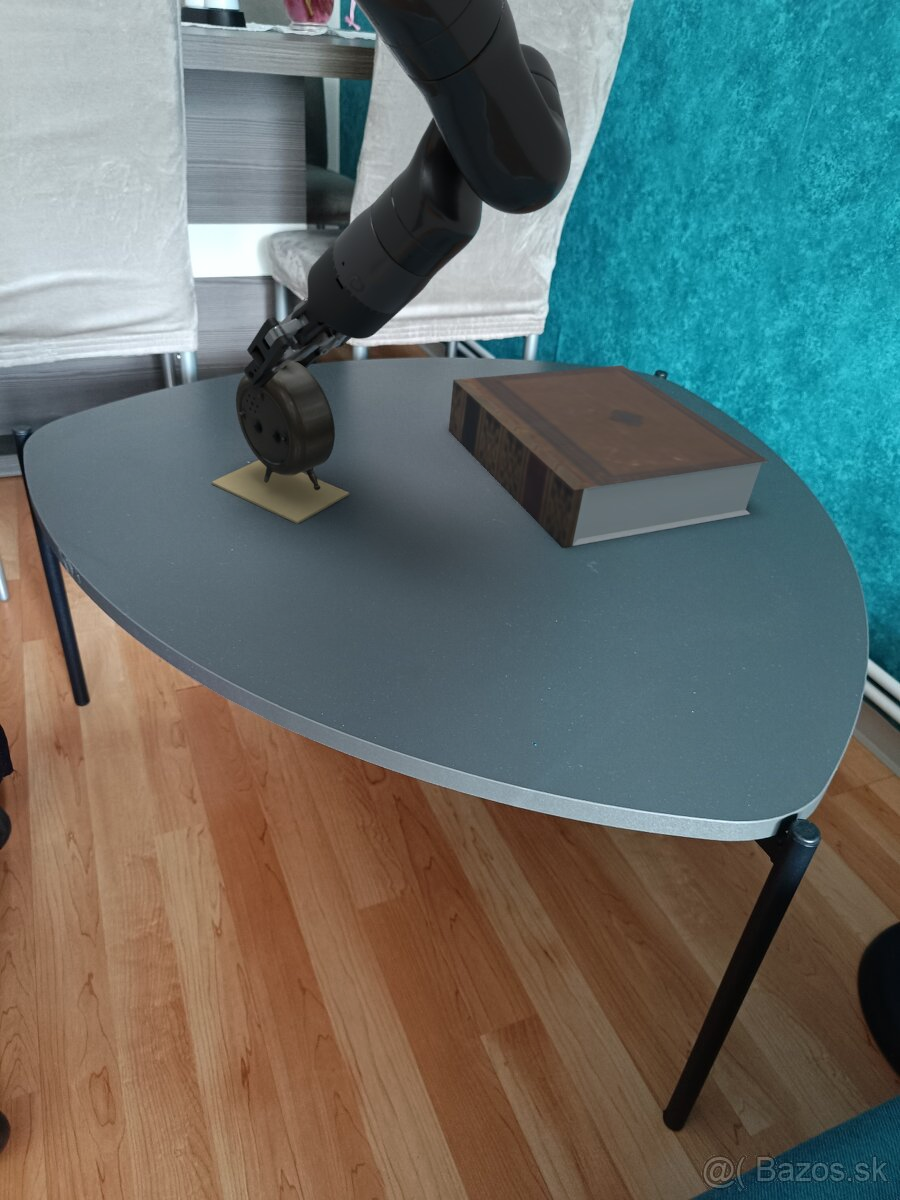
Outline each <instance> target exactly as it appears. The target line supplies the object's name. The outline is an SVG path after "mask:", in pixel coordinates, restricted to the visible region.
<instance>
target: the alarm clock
mask: <svg viewBox="0 0 900 1200" xmlns="http://www.w3.org/2000/svg"><path fill="white" fill-rule="evenodd" d="M277 321H278V323H280V322H281V321H280V320H277ZM283 356H285V353H284V354H283ZM283 356H282V357H283ZM282 357H281V358H282ZM281 358H280V359H281ZM235 408H236V414H237V420H238V424H239V427H240V430H241V432H242V434H243V437H244V439H245V441H246V444H247V445H248V446H249V448H250V450H251V451H252V453H253V454H254V455H255V457H256V458H257V459H258V460H260V461H261V462H262V463H263V464H264V465H265V466H266V467H267V469H266V474H265V477H264V482H265V483H267V482H268V481H269V478H270V476H271V473H272V472H275V473H278V474H280V475H284V476H292V475H296V474H298V473H301V472H302V473H304V472H306V474H307V475H308V476H309V478H310V480H311V481H312V483H313V484H314V489H315V490H319V489H320V486H319V485H318V481H317V479H318V476H317V475H316V472H315V471H314V468H315V467H318V466H321V465H323V464H324V463H325V462H327V461H328V459H330V457H331V455H332V453H333V449H334V446H335V445H334V444H335V437H336V431H335V429H336V428H335V421H334V420H335V419H334V415H333V413H332V408H331V406H330V402H329V400H328V397H327V396H326V394H325V392H324V389H323V388H322V386H321V384H320V383H319V381H318V380H317V379H316V377H315V375H314V374H312V373H311V372H310V370H308V369H307V368H305V367H304V366H302V365H301V364H299V363H298V362H296V361H291V362H289V363H288V364H287V365H286V366H284V367H283V368H282V370H280V371H279V372H278V373H277V374H276V375H275V376H274V377H273V378H272V379H270V380H269V381H268V382H267V383H266V384H265V385H264V386H263V387H261V388H258V389H255V388H254V387H253V386H252V384H251V382H250V381H249V379H248V378H247V376H246V374H245V373H244V374H243V375H242V377H241V378H240V379H239V382H238V385H237V388H236V395H235Z"/></svg>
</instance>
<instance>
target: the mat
mask: <svg viewBox="0 0 900 1200" xmlns="http://www.w3.org/2000/svg"><path fill="white" fill-rule="evenodd" d="M266 469H267V467H266V466H265V465H264V464H263V463H262V462H261V461H260V460H259V459H258V460H256V461H254V462H251V463H249V464H247V465H244V466H243V467H240V468H238V469H237V470H234V471H232V472H230V473H227V474H225V475H223V476H221V477H219V478H216V479H215V480H212V481H211V485H213V486H214V487H217V488H219V489H221V490H224V491H226V492H227V493H230V494H232V495H234V496H236V497H238V498H241V499H243V500H245V501H247V502H249V503H251V504H254V505H255V506H258V507H260V508H262V509H264V510H266V511H269V512H271V513H272V514H275V515H277V516H279V517H282V518H284V519H286V520H287V521H289V522H292V523H295V524H297V525H298V524H301V523H302V522H303V521H306V520H307V519H309V518H311V517H313V516H314V515H317V514H318V513H319V512H322V511H323V510H325V509H327V508H328V507H331V506H332V505H334V504H335V503H337V502H339V501H341V500H343V499H345V498H346V497H348V496H349V495H350V492H349V491H346V490H344V489H341V488H339V487H336V486H334V485H332V484H330V483H327V482H325V481H323V480H320V479H318V478H317V481H318V485H319V486H320V489H319V490H315V489H314V484H313V483H312V481H311V480H310V478H309V476H308V474H307V473H304V472H301V473H298V474H296V475H292V476H284V475H280V474H278V473H275V472H272V473H271V476H270V478H269V481H268V482H267V483H265V482H264V477H265V474H266Z"/></svg>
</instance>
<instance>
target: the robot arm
mask: <svg viewBox="0 0 900 1200" xmlns="http://www.w3.org/2000/svg"><path fill="white" fill-rule="evenodd" d="M353 2H354V3H355V4H356V5H357V7H358V8H359V9H360V11H361V13H362V14H363V16H364V17H365V18H366V20H367V21H368V22H369V25H371V27H372V29H373V30H374V31H375V33H376V34H377V35H378V37H379V38H380V40H381V41H382V43H383V44H384V45H385V47H386V48H387V50H388V52H389V53H390V54H391V55H392V57H393V58H394V59H395V61H396V62H397V64H398V65H399V67H400V68H401V69H402V70H403V72H404V73H405V74H406V75H407V77H408V78H409V80H410V82H412V83H413V84H414V86H415V87H416V88H417V89H418V91H419V92H420V94H421V95H422V97H423V99H424V102H425V103H426V105H427V106H428V109H429V112H430V113H431V116H432V117H431V120H430V122H429V123H428V125H427V127H426V129H425V130H424V133H423V134H422V136H421V138H420V140H419V142H418V144H417V147H416V149H415V151H414V153H413V156H412V158H411V159H410V162H409V163H408V164H407V166H406V167H405V169H404V170H403V171H402V172H401V173H400V174H398V176H396V178H394V180H393V181H392V182H391V183H390V184H389V185H388V186H387V188H386V189H384V191H383V192H382V193H381V194H380V195H379V196H378V197H377V199H376V200H374V202H373V203H372V204H371V205H370V206H368V207H367V208H365V209H364V210H363V211H361V212H360V213H359V214H358V215H357V216H356V217H355V218H354V219H353V220H352V221H351V222H350V223H349V225H347V226H346V228H344V230H343V231H342V232H341V233H340V235H338V237H336V239H335V240H334V241H333V242H332V243H331V244H330V245H329V246H328V248H327V249H326V250H325V251H324V252H323V253H322V254H321V256H320V257H319V258H318V259H317V260H316V261H315V262H314V263H313V264H312V265H311V267H310V268H309V271H308V275H307V279H306V281H307V286H306V287H307V297H305V298H304V299H302V300H301V301H300V302H298V303H297V304H296V305H295V306H294V307H293V311H292V312H291V313H290V314H289V315H287V316H286V317H285V318H284V319H283V320H281V321H280V323H278V321H279V320H277V318H276V317H274V316H273V317H271V318H270V317H269V318H267V319H266V320H265V321H264V322H263V324H262V325H261V327H260V328H259V329H258V331H257V333H256V334H255V336H254V338H253V339H252V341H251V343H250V344H249V346H248V347H247V349H246V351H247V353H248V354H249V356H250V357H251V358H252V360H251V361H250V362H249V363H248V364H247V365H246V366H245V368H244V374H246V376H247V378H248V379H249V381H250V382H251V384H252V386H253V387H254V388H255V389H258V388H261V387H263V386H264V385H265V384H266V383H267V382H268V381H269V380H270V379H272V378H273V377H274V376H275V375H276V374H277V373H278V372H279V371H280V370H282V368H283V367H284V366H286V365H287V364H288V363H289V362H291V361H296V362H298V363H299V364H301V365H302V366H304V367H305V368H306V369H307V368H309V366H311V364H313V363H314V362H315V361H316V360H317V359H318V358H319V357H320V356H326V355H327V354H329V352H330V351H331V350H333V349H335V348H337V349H338V348H342V347H344V345H345V344H346V343H347V342H348V341H350V340H351V339H356V340H363V339H368V338H370V337H373V336H374V335H375V334H376V333H378V332H379V331H380V330H381V329H383V327H385V326H386V325H387V324H388V323H389V322H390V321H391V320H392V319H393V318H394V317H395V316H397V314H398V313H400V312H401V311H402V310H403V309H404V308H405V307H406V306H407V305H408V304H410V303H411V302H412V301H413V300H414V299H415V298H416V297H417V296H418V295H419V294H420V293H421V292H422V291H423V290H424V289H425V288H426V287H427V286H428V284H429V283H430V282H431V280H432V279H433V278H434V277H435V276H436V275H437V273H438V272H440V271H441V270H442V269H443V268H444V267H445V266H446V265H448V264H449V262H450V261H452V260H453V259H454V258H455V257H456V256H457V255H458V254H459V253H460V252H462V251H463V250H464V249H465V248H466V247H467V246H468V245H469V244H470V242H472V241H473V239H474V238H475V236H476V235H477V234H478V231H479V229H480V227H481V222H482V216H483V215H482V214H483V203H485V204H486V205H487V206H489V207H490V208H492V209H494V210H496V211H499V212H501V213H505V214H509V215H526V214H531V213H535V212H537V211H539V210H542V209H543V208H545V207H546V206H548V205H549V204H550V203H552V202H553V201H554V200H555V199H556V198H557V197H558V195H559V194H560V193H561V191H562V190H563V188H564V186H565V184H566V182H567V180H568V177H569V174H570V170H571V165H572V146H571V140H570V136H569V130H568V128H567V127H568V126H567V122H566V119H565V114H564V110H563V104H562V101H561V97H560V91H559V88H558V83H557V79H556V76H555V73H554V70H553V68H552V67H551V64H550V62H549V61H548V59H547V58H546V56H545V55H544V54H543V53H542V52H540V51H539V50H538V49H536V48H535V47H534V46H532V45H529V44H525V43H520V39H519V35H518V30H517V26H516V22H515V19H514V15H513V13H512V10H511V6H510V4H509V2H508V0H353ZM293 337H294V338H293ZM295 341H296V342H295ZM284 353H285V356H283V354H284ZM282 356H283V357H282ZM281 357H282V358H281ZM280 358H281V359H280Z"/></svg>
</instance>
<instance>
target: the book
mask: <svg viewBox="0 0 900 1200" xmlns="http://www.w3.org/2000/svg"><path fill="white" fill-rule="evenodd" d="M448 422H449V424H448V431H449V432H450V433H451V435H452V436H454V438H455V439H457V441H459V443H460V444H461V445H462V446H463V447H464V448H465V449H466V450H467V451H468V452H469V453H470V454H471V455H472V456H473V457H474V458H475V459H476V460H477V461H478V462H479V463H480V464H481V465H482V466H483V467H484V468H485V469H486V471H487V472H488V473H490V474H491V476H492V477H493V478H494V479H495V480H496V481H497V482H498V483H500V485H501V486H502V487H503V488H504V489H505V490H506V491H507V492H508V493H509V494H510V495H511V497H513V498H514V499H515V500H516V501H517V502H518V503H519V504H520V506H522V507H523V509H524V510H526V512H527V513H528V514H529V515H530V516H531V517H532V518H533V519H534V520H535V521H536V522H537V523H538V524H539V525H540V527H542V528H543V529H544V530H545V531H546V532H547V533H548V534H549V535H550V536H551V537H552V538H553V539H554V540H555V541H556V543H557V544H558V545H559V546H561V548H562V549H563V548H569V547H575V546H581V545H586V544H591V543H597V542H602V541H609V540H614V539H620V538H625V537H630V536H637V535H641V534H648V533H653V532H658V531H664V530H671V529H675V528H681V527H687V526H693V525H698V524H703V523H709V522H715V521H720V520H726V519H730V518H735V517H742V516H749V515H751V513H750V512H749V511H748V510H747V507H748V505H749V502H750V498H751V496H752V492H753V490H754V488H755V487H754V486H755V483H756V481H757V477H758V475H759V473H760V471H761V467H762V465H763V464H765V463H768V462H769V460H768V459H766V458H765V457H763V456H762V455H760V454H759V453H757V451H754V450H753V449H752V448H750V447H748V446H746V445H745V444H744V443H742V442H741V441H740V440H738V439H737V438H734V437H733V436H731V435H730V434H728V433H727V432H725V431H724V430H722V429H720V427H718V426H716V425H715V424H714V423H711V422H710V421H709V420H708V419H705V418H704V417H702V416H701V415H699V414H698V413H696V412H695V411H693V410H692V409H690V408H689V407H687V406H686V405H684V404H682V403H681V402H680V401H678V400H676V399H675V398H673V397H671V396H670V395H669V394H667V393H666V392H664V391H662V390H661V389H660V388H658V387H656V386H655V385H654V384H652V383H650V382H648V380H646V379H644V378H643V377H641V376H640V375H638V374H636V373H635V372H633V371H632V370H630V369H629V368H628V367H626V366H624V365H623V364H621V365H611V366H599V367H588V368H586V367H585V368H574V369H565V370H552V371H541V372H540V371H539V372H528V373H518V374H517V373H516V374H515V373H514V374H504V375H491V376H481V377H480V376H479V377H469V378H458V379H457V378H455V379H453V382H452V392H451V403H450V413H449V421H448Z"/></svg>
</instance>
